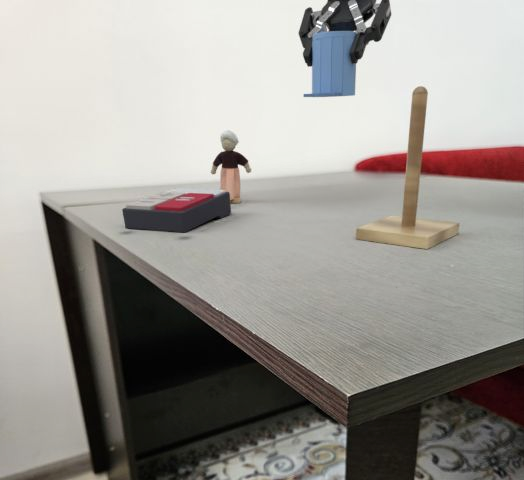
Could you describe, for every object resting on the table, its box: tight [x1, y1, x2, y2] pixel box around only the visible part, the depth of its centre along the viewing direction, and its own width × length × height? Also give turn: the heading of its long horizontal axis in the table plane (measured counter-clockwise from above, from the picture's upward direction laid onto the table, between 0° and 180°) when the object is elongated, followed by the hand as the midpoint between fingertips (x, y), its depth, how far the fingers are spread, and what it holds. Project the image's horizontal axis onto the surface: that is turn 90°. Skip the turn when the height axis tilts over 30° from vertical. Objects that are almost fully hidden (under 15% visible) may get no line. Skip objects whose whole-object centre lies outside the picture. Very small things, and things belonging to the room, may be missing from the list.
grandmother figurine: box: [210, 129, 252, 204], centre depth 97 cm, size 8×4×13 cm, turn 90°
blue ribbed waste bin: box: [303, 31, 357, 98], centre depth 80 cm, size 9×7×8 cm
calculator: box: [121, 187, 232, 233], centre depth 83 cm, size 11×4×15 cm
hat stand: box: [355, 85, 461, 250], centre depth 66 cm, size 10×10×18 cm
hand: (330, 60), depth 79 cm, fingers closed on blue ribbed waste bin, 6 cm apart
